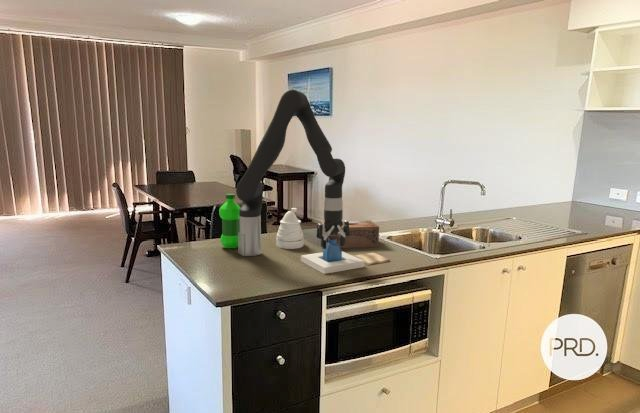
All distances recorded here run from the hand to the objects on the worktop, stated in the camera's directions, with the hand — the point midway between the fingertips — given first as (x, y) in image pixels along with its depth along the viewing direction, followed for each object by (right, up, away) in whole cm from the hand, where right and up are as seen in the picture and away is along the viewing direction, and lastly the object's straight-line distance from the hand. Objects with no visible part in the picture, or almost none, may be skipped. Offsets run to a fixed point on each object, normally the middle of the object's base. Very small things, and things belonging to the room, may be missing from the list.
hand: (333, 247), depth 182 cm
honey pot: (-20, -2, +30) cm, 36 cm away
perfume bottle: (0, -7, +1) cm, 7 cm away
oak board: (+16, -6, +8) cm, 19 cm away
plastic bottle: (-47, -3, +25) cm, 53 cm away
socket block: (0, -7, +1) cm, 7 cm away
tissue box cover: (+9, -2, +35) cm, 36 cm away
